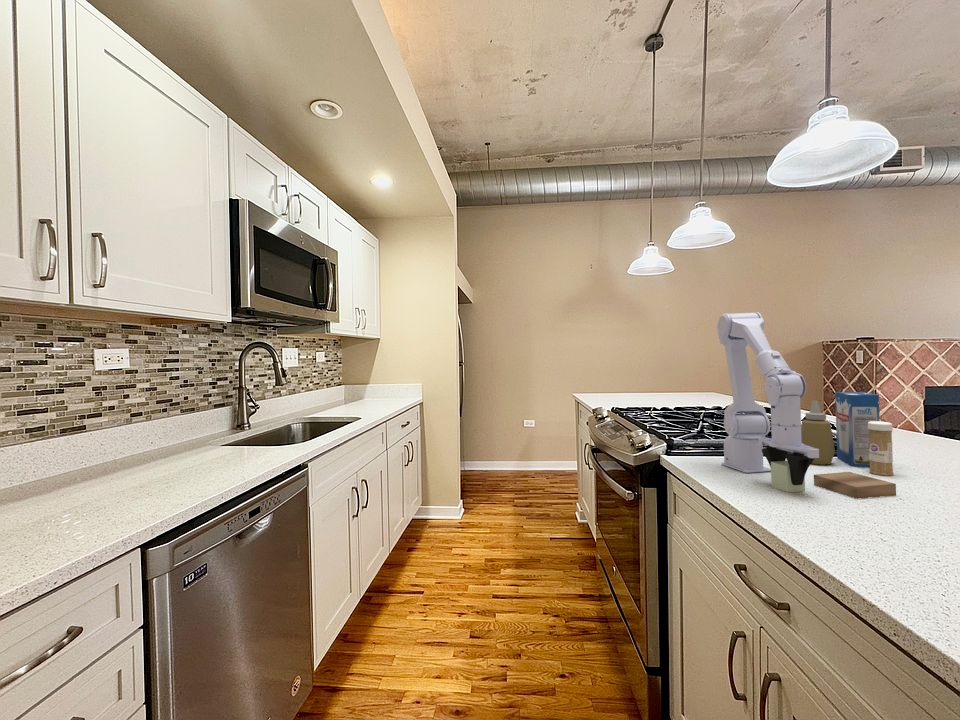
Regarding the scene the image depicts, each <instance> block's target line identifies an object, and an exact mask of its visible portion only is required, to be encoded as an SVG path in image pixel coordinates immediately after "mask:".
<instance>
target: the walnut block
mask: <svg viewBox="0 0 960 720" xmlns="http://www.w3.org/2000/svg"><path fill="white" fill-rule="evenodd" d="M813 486H815V487H818V486H819V487H818V488H821V487H822V489H824V488H825V490H828V491H832V492H835V493H838V494H840V495H843V494H844V496H846V495H847V497H850V498H853V497H854V498H853V499H856V498H857V499H856V500H859V499H858V498H861V499H869V498H868V497H873V498H881V497H880V496H884V497H892V496H894V495H895V496H897V484H896V483H894V482H891V481H886V480H882V479H878V478H875V477H870V476H867V475H863V474H859V473H856V472H851V471H843V472H831V473H829V472H827V473H819V474H818V473H817V474H813Z"/></svg>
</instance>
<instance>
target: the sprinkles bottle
mask: <svg viewBox="0 0 960 720" xmlns="http://www.w3.org/2000/svg"><path fill="white" fill-rule="evenodd" d="M868 429H869V459H870V468H869V473H871V474H874V475H876V476H877V475H878V476H886V477H889V476H893V475H894V470H893V467H894V466H893V462H894V460H893V459H894V458H893V457H894V456H893V454H894V452H893V439H892V438H893V437H892V435H893V434H892V433H893V429H894V428H893V423H892V422H888V421H881V420H880V421H870V422H868Z"/></svg>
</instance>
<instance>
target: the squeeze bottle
mask: <svg viewBox="0 0 960 720" xmlns="http://www.w3.org/2000/svg"><path fill="white" fill-rule="evenodd" d="M821 410H822V409H821V407H820V404H819V401H818V400H812V402H811V405H810V410H809V412H805V413H804V414H805V419H804V420H801V436H802V444H805V445H807V446H810V447H813V448H816V449H819V458H814V460H813V461H812V463H811V464H812V465H818V464H820V465H821V466H827V465H830V464H831V463H832V461H833V458H834V455H835V453H836V449H835V443H834V438H833V430H832V425H831V422H829V421H828V420H827V414H826V413H824V412H822V411H821ZM826 464H827V465H826ZM820 465H819V466H820Z"/></svg>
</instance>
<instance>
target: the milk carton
mask: <svg viewBox="0 0 960 720" xmlns="http://www.w3.org/2000/svg"><path fill="white" fill-rule="evenodd" d="M834 398H835V400H834V402H835V427H836V428H835V429H836V459H837V460H839V459H840V461H841V462H842V463H845V464H847V465H848V466H850V467H853V468H854V467H855V468H868V469H870V459H869V429H868V422H870V421H880V422H881V420H880V417H881V416H880V395H879V394H875V393H870V392H865V391H864V392H863V391H835V392H834Z"/></svg>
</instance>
